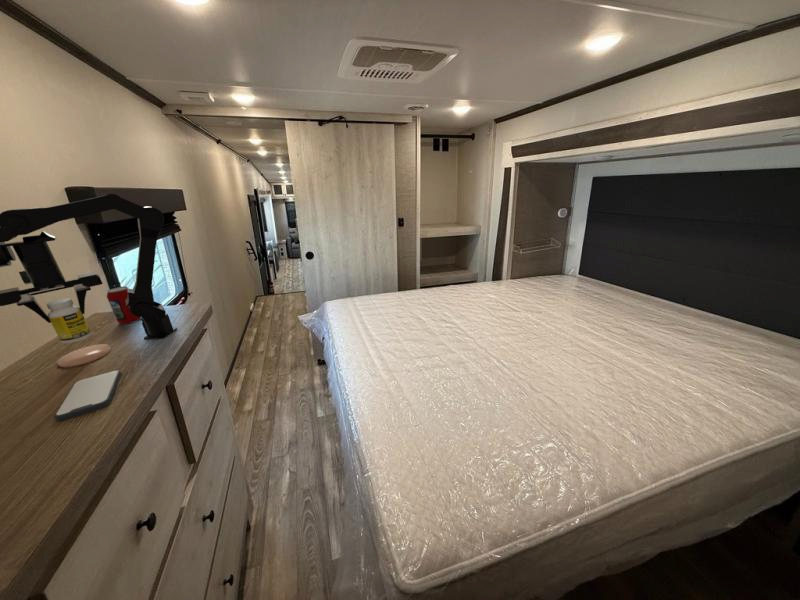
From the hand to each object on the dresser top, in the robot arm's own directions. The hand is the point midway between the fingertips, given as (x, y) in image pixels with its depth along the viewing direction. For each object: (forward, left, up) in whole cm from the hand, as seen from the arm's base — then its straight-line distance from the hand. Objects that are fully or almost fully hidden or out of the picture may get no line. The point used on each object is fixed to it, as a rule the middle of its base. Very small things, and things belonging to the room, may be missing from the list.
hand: (67, 317), depth 84 cm
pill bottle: (0, 0, -6) cm, 6 cm away
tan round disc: (0, 0, -12) cm, 12 cm away
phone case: (-19, +18, -13) cm, 29 cm away
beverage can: (+7, -24, -12) cm, 28 cm away
